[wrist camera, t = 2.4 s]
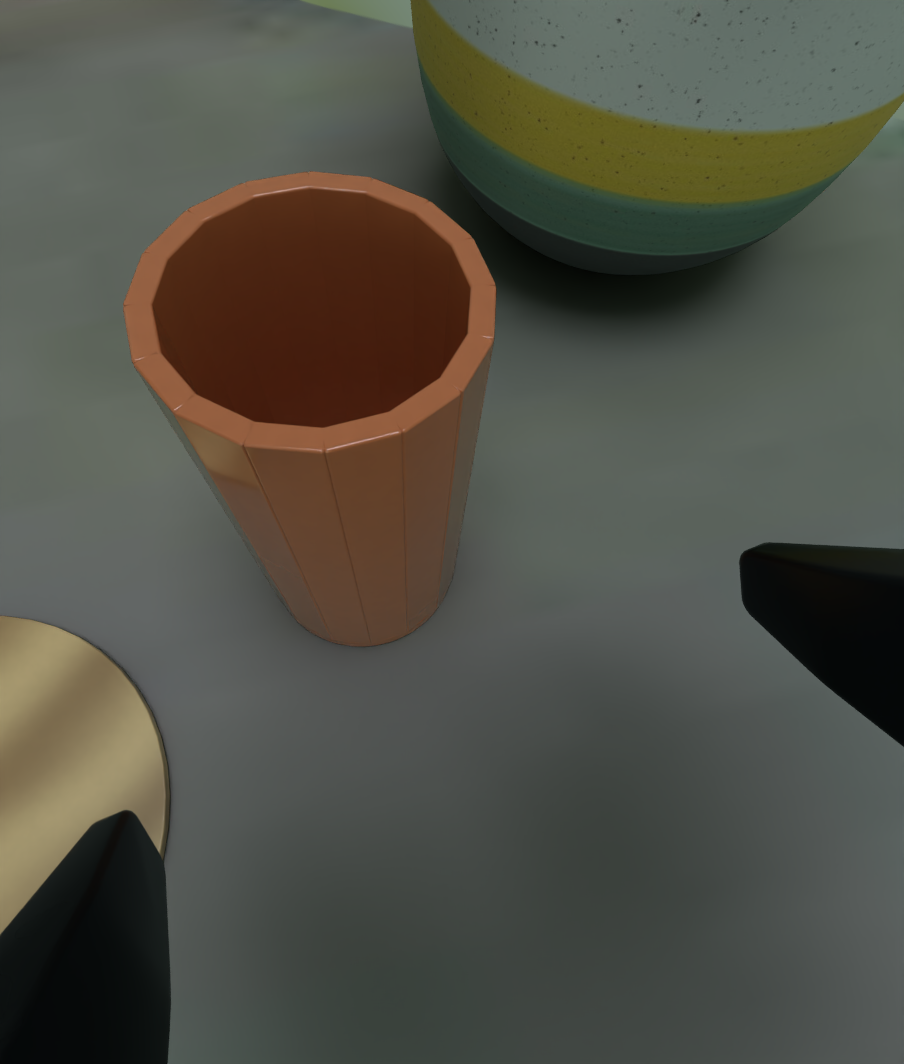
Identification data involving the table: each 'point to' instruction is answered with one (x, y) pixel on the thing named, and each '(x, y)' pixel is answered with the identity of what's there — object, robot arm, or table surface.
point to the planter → (654, 116)
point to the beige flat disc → (68, 753)
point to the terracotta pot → (325, 385)
